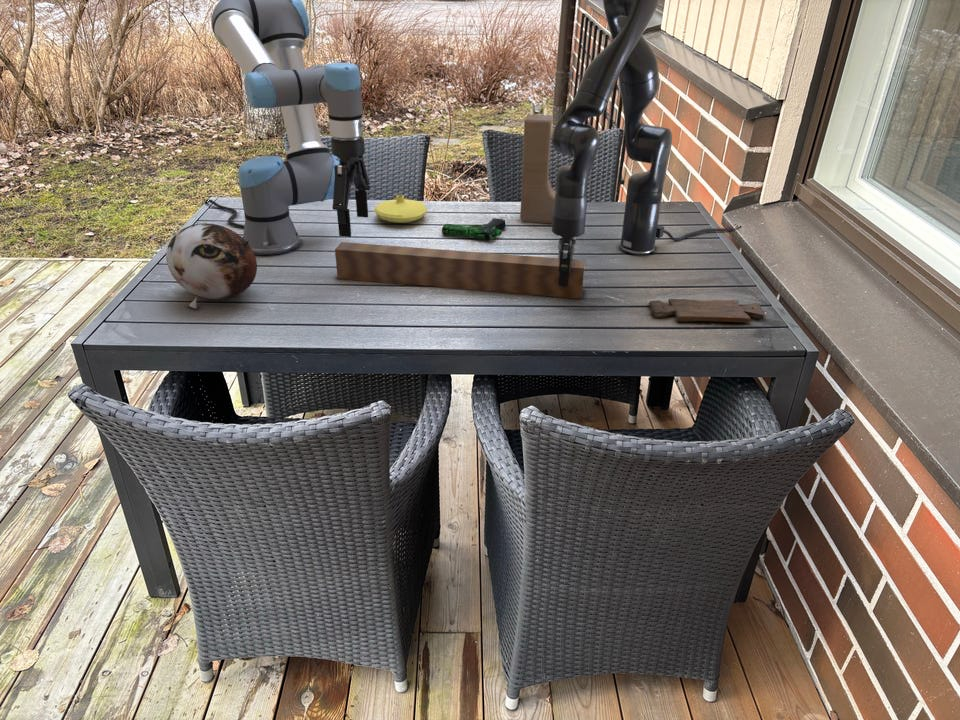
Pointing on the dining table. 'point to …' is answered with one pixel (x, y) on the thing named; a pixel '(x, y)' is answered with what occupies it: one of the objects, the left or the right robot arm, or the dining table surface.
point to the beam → (457, 269)
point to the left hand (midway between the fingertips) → (354, 226)
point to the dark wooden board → (706, 310)
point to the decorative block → (537, 171)
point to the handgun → (476, 230)
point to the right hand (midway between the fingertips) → (564, 280)
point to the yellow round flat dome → (400, 210)
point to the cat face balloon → (211, 261)
